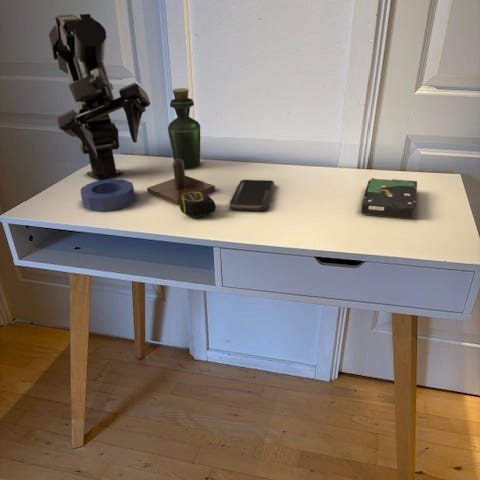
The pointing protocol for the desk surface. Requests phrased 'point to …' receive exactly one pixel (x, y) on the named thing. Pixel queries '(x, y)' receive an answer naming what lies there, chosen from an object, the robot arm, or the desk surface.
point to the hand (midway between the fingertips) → (114, 150)
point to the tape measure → (196, 204)
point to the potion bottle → (184, 131)
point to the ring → (108, 195)
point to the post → (179, 185)
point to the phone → (252, 195)
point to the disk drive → (390, 198)
